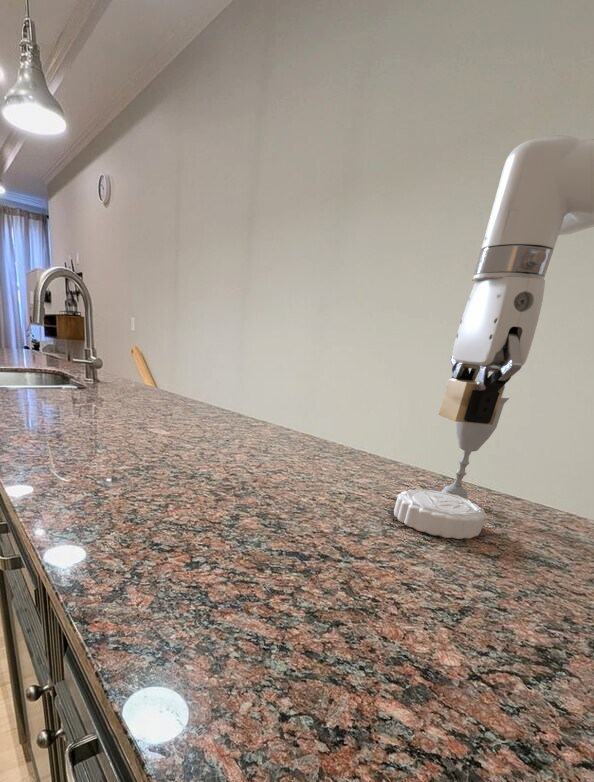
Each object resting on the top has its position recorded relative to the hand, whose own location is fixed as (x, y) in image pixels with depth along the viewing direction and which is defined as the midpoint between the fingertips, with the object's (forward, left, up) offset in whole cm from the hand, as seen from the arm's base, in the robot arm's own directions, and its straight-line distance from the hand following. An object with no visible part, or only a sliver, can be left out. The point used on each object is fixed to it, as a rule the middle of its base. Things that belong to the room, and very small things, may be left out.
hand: (465, 416), depth 61 cm
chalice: (-8, -11, -16) cm, 21 cm away
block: (0, 0, 0) cm, 0 cm away
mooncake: (0, 0, -16) cm, 16 cm away
